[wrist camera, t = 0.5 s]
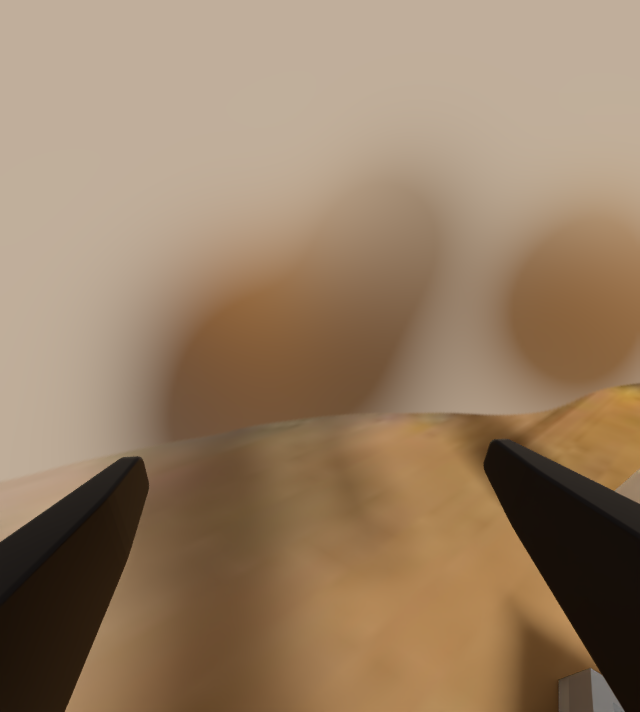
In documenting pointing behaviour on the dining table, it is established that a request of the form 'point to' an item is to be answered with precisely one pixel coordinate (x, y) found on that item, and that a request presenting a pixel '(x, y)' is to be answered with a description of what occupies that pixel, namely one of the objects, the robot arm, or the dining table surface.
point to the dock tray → (586, 693)
